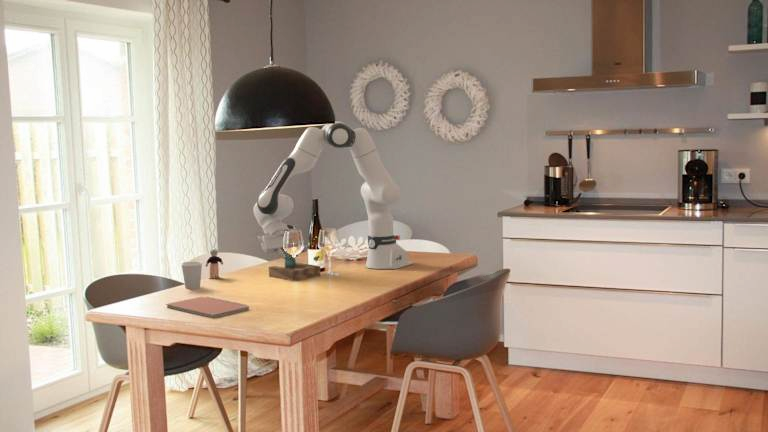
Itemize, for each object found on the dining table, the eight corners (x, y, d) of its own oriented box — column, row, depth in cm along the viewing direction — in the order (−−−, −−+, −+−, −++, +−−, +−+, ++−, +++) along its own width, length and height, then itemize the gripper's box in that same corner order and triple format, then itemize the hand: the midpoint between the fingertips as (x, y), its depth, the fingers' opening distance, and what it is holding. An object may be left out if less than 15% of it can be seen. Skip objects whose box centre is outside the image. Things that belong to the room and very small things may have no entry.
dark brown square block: (296, 271, 357) (296, 262, 357) (320, 275, 346) (320, 266, 346) (269, 276, 347) (268, 266, 346) (292, 280, 336) (292, 271, 335)
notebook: (252, 310, 285) (252, 305, 285) (213, 319, 273) (213, 314, 272) (204, 300, 303) (204, 295, 303) (165, 308, 290) (165, 303, 290)
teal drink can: (291, 269, 351) (290, 246, 350) (298, 270, 348) (297, 247, 347) (282, 270, 348) (282, 247, 347) (289, 271, 345) (288, 248, 344)
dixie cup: (177, 289, 322) (176, 264, 321) (189, 285, 330) (188, 260, 329) (195, 290, 319) (194, 265, 318) (207, 286, 327) (206, 261, 326)
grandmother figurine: (209, 279, 341) (208, 249, 340) (204, 278, 344) (203, 248, 343) (225, 277, 346) (224, 247, 345) (220, 275, 349) (219, 246, 348)
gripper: (259, 230, 344) (274, 255, 338) (297, 225, 358) (312, 249, 352) (253, 239, 347) (268, 264, 342) (291, 234, 362) (305, 258, 356)
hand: (291, 257), depth 347 cm, fingers closed on teal drink can, 5 cm apart
